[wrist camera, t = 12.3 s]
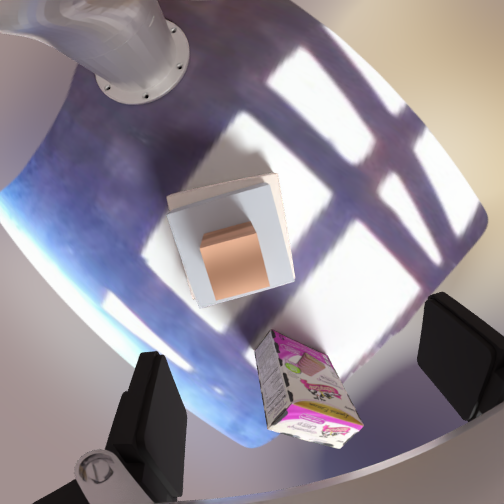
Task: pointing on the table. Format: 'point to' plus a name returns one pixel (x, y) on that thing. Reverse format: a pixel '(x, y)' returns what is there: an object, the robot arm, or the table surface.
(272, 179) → the tower base
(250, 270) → the terracotta block
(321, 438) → the candy bar box
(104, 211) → the table surface
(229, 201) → the tower top
